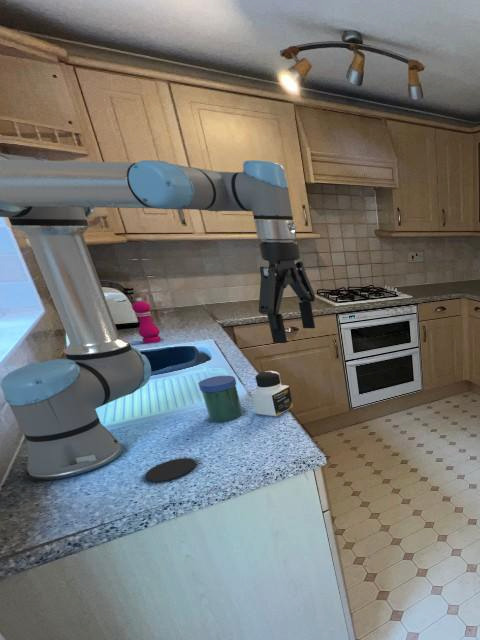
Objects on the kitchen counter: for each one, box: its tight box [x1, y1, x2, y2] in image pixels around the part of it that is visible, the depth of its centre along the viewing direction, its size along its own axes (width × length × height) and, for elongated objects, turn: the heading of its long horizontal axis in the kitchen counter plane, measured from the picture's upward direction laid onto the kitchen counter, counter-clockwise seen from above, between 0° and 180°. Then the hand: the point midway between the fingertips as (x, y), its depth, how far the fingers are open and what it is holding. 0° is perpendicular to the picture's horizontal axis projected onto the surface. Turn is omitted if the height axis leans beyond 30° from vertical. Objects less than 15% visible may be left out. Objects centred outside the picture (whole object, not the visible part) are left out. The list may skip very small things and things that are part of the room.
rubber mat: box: [144, 457, 197, 484], centre depth 92 cm, size 9×9×1 cm
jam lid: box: [198, 375, 237, 393], centre depth 114 cm, size 9×8×2 cm
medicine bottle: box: [250, 370, 294, 417], centre depth 119 cm, size 7×7×12 cm
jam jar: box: [201, 384, 244, 423], centre depth 116 cm, size 8×8×10 cm
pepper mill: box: [131, 297, 162, 344], centre depth 182 cm, size 7×7×20 cm
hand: (295, 335), depth 97 cm, fingers open, 13 cm apart
